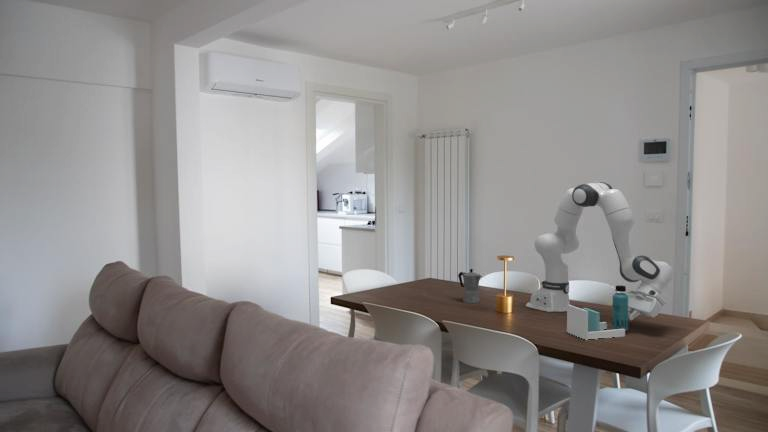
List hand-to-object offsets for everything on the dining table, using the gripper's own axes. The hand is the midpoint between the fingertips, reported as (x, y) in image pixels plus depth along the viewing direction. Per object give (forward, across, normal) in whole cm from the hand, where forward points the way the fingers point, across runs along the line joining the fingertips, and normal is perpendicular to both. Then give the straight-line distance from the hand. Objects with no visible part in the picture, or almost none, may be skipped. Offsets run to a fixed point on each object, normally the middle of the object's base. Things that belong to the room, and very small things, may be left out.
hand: (628, 318), depth 226 cm
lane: (+15, -1, -7) cm, 16 cm away
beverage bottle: (+7, 0, +1) cm, 7 cm away
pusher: (+16, -1, -10) cm, 19 cm away
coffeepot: (+30, -76, -24) cm, 85 cm away
